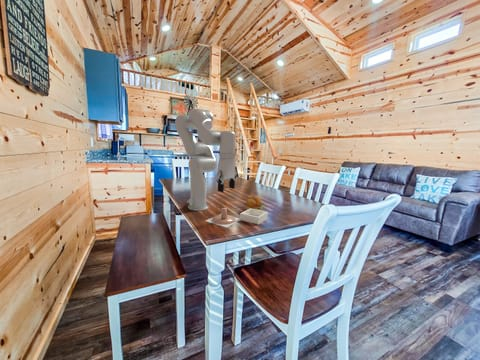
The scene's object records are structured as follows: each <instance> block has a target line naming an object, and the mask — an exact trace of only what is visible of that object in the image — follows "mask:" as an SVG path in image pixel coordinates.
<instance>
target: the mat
mask: <svg viewBox="0 0 480 360" xmlns="http://www.w3.org/2000/svg"><path fill="white" fill-rule="evenodd" d="M219 215H221V213H220V214H219ZM234 217H235V216H234ZM212 219H213V217H211V218H208V219H206V220H205V222H208V223H210V224H214V225H217V226H221V227H224V228H229V227H230V226H232V225H234V224H236V223H238V222H240V221H241V220H240V217H235V222H233V223H231V224H217V223H214V222H213V220H212Z"/></svg>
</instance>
